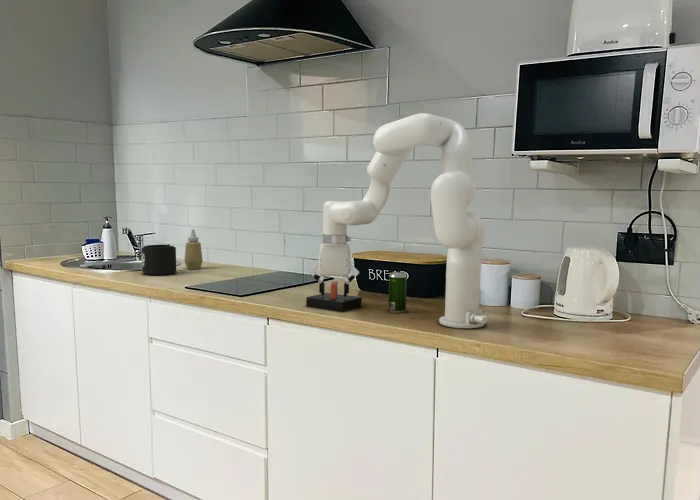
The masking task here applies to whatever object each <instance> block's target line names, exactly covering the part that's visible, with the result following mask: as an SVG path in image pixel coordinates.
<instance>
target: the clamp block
mask: <svg viewBox="0 0 700 500" xmlns="http://www.w3.org/2000/svg"><path fill="white" fill-rule="evenodd" d="M362 302H363V301H362V296H355V295H349V294H347V296H346V297H345V296H344V293H342V294H339V293H337V297H336V299H331V292H324V296H321V293H319V294H314V295H310V296H306V297H305V306H306V307H307V308H313V309H320V310H327V311H332V312H339V313H344V312H347V311H350V310H354V309H357V308H360V307H361V308H362Z"/></svg>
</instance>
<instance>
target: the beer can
mask: <svg viewBox="0 0 700 500" xmlns="http://www.w3.org/2000/svg"><path fill="white" fill-rule="evenodd" d="M407 278H408V277H407V273H406V272H403V271H391V272H389V275H388V312H390V313H392V314H393V313H394V314H403V313H405V312H406V311H407V280H408V279H407Z"/></svg>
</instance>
